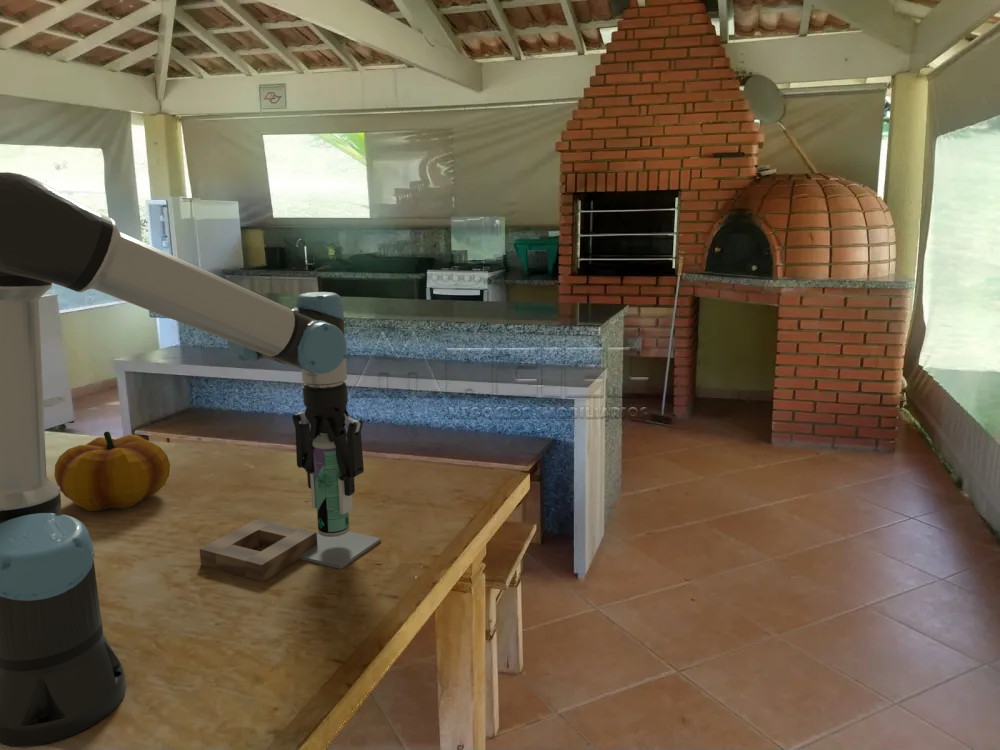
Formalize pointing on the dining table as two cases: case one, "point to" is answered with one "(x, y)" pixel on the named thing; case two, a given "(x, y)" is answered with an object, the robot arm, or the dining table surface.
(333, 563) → the slate tile
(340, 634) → the dining table surface
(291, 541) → the eye block
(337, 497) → the spray can
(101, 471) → the decorative pumpkin
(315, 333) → the robot arm
